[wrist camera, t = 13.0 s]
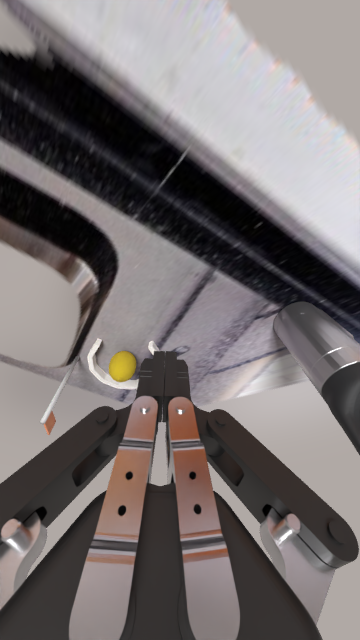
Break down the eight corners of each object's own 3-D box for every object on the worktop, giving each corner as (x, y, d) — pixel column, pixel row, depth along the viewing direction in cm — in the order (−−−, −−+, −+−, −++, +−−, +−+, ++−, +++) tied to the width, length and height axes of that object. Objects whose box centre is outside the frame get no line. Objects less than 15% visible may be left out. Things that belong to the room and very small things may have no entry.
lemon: (129, 366, 51) (123, 393, 44) (109, 354, 49) (99, 381, 42) (143, 352, 49) (138, 378, 42) (122, 339, 47) (114, 365, 40)
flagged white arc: (162, 341, 47) (159, 403, 34) (159, 383, 55) (156, 448, 41) (71, 336, 46) (30, 400, 32) (81, 381, 53) (50, 448, 39)
